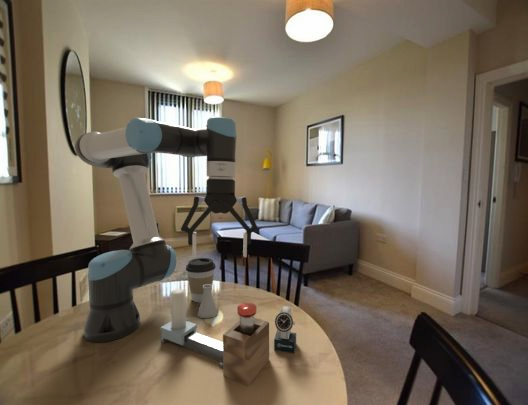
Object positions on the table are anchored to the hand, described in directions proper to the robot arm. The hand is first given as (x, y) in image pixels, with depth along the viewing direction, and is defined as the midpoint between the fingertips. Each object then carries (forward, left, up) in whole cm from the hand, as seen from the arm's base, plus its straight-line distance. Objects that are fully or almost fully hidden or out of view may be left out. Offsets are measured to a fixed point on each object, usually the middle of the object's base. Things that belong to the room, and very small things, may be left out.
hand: (219, 256), depth 71 cm
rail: (-5, -4, -25) cm, 26 cm away
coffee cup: (-25, +20, -25) cm, 41 cm away
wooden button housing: (+11, -4, -25) cm, 28 cm away
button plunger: (+11, -4, -16) cm, 20 cm away
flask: (-15, +12, -26) cm, 32 cm away
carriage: (-12, -4, -24) cm, 27 cm away
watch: (+16, +8, -25) cm, 31 cm away
